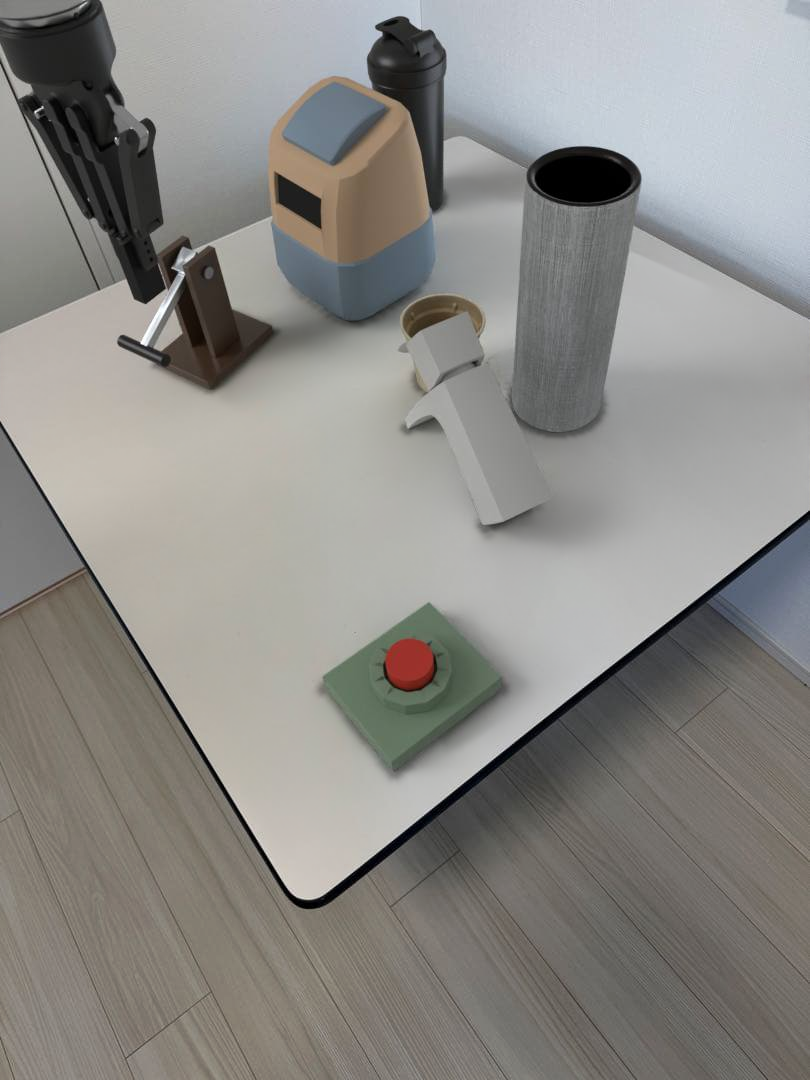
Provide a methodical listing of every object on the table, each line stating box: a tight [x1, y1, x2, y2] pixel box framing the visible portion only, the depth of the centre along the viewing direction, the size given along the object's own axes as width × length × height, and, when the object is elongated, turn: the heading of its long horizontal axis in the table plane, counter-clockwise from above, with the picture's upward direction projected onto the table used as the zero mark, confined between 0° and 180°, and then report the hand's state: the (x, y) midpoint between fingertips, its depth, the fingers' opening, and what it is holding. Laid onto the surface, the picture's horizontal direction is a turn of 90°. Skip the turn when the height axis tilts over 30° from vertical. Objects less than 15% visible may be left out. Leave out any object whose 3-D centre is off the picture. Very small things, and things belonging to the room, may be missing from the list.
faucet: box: [397, 311, 555, 526], centre depth 84 cm, size 6×16×20 cm
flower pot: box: [399, 292, 487, 394], centre depth 92 cm, size 9×9×9 cm
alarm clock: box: [267, 75, 436, 321], centre depth 99 cm, size 17×17×23 cm
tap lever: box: [116, 247, 199, 368], centre depth 92 cm, size 13×7×2 cm, turn 146°
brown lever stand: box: [156, 235, 274, 390], centre depth 96 cm, size 12×9×14 cm
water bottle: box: [366, 15, 448, 213], centre depth 110 cm, size 10×10×23 cm
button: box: [385, 638, 434, 690], centre depth 69 cm, size 4×4×2 cm
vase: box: [511, 145, 643, 433], centre depth 82 cm, size 10×10×27 cm
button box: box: [321, 601, 503, 773], centre depth 71 cm, size 12×10×4 cm
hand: (150, 293), depth 75 cm, fingers closed
